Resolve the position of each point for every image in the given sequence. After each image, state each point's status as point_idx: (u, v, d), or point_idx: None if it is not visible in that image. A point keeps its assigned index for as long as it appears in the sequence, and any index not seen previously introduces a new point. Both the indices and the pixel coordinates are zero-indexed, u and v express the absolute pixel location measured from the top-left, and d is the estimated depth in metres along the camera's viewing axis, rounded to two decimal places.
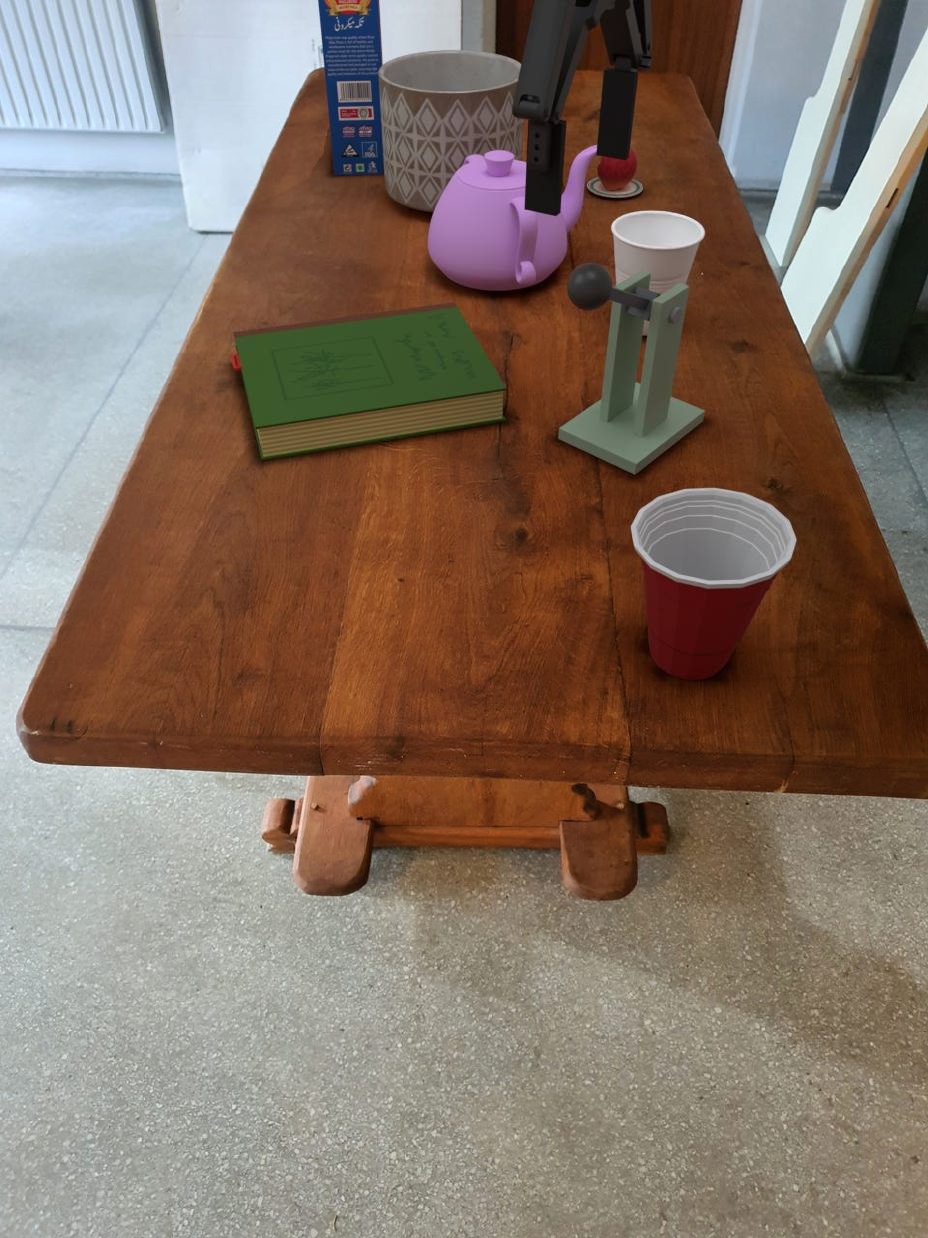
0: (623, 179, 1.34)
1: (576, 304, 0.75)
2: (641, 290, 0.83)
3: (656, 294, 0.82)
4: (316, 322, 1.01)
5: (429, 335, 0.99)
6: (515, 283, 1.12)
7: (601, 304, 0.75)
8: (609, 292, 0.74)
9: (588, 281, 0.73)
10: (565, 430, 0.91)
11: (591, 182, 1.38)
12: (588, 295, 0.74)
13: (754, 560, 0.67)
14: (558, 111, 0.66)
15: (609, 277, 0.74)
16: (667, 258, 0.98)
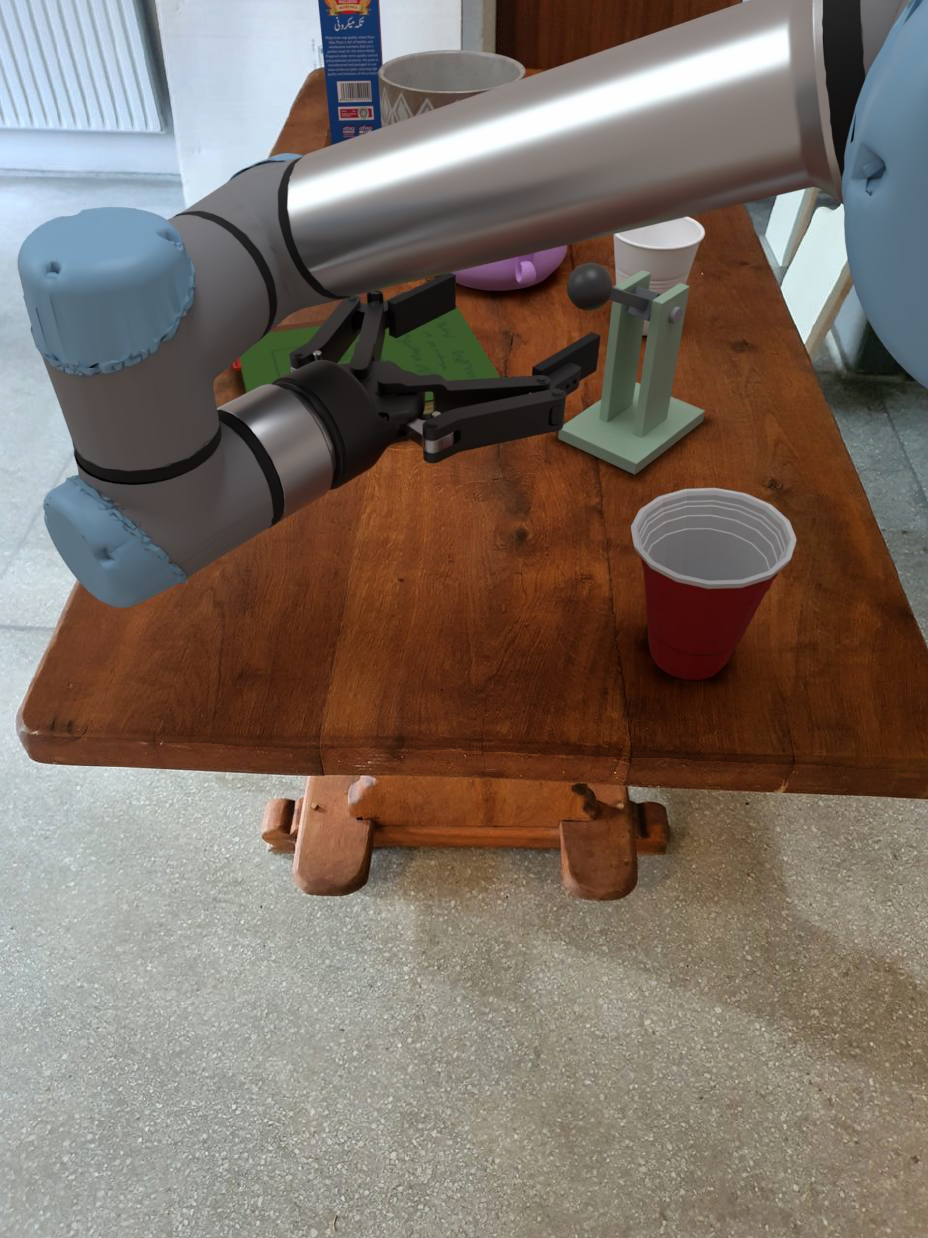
0: None
1: (576, 304, 0.75)
2: (641, 290, 0.83)
3: (656, 294, 0.82)
4: (316, 322, 1.01)
5: (429, 335, 0.99)
6: (515, 283, 1.12)
7: (601, 304, 0.75)
8: (609, 292, 0.74)
9: (588, 281, 0.73)
10: (565, 430, 0.91)
11: None
12: (588, 295, 0.74)
13: (754, 560, 0.67)
14: (539, 380, 0.61)
15: (609, 277, 0.74)
16: (667, 258, 0.98)
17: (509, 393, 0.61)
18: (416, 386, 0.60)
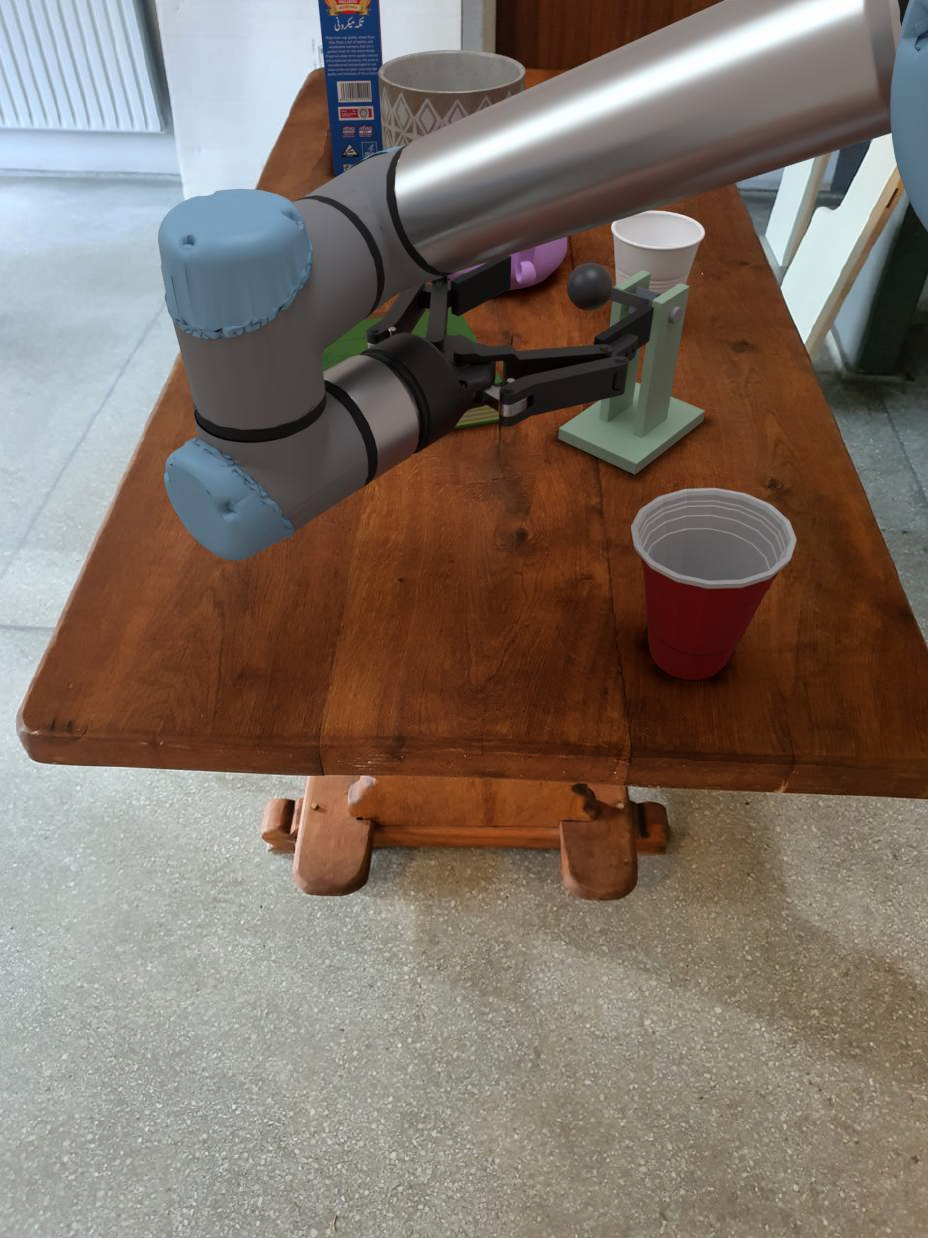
0: None
1: (576, 304, 0.75)
2: (641, 290, 0.83)
3: (656, 294, 0.82)
4: None
5: None
6: (515, 283, 1.12)
7: (601, 304, 0.75)
8: (609, 292, 0.74)
9: (588, 281, 0.73)
10: (565, 430, 0.91)
11: None
12: (588, 295, 0.74)
13: (754, 560, 0.67)
14: (602, 348, 0.66)
15: (609, 277, 0.74)
16: (667, 258, 0.98)
17: (575, 361, 0.66)
18: (490, 356, 0.64)
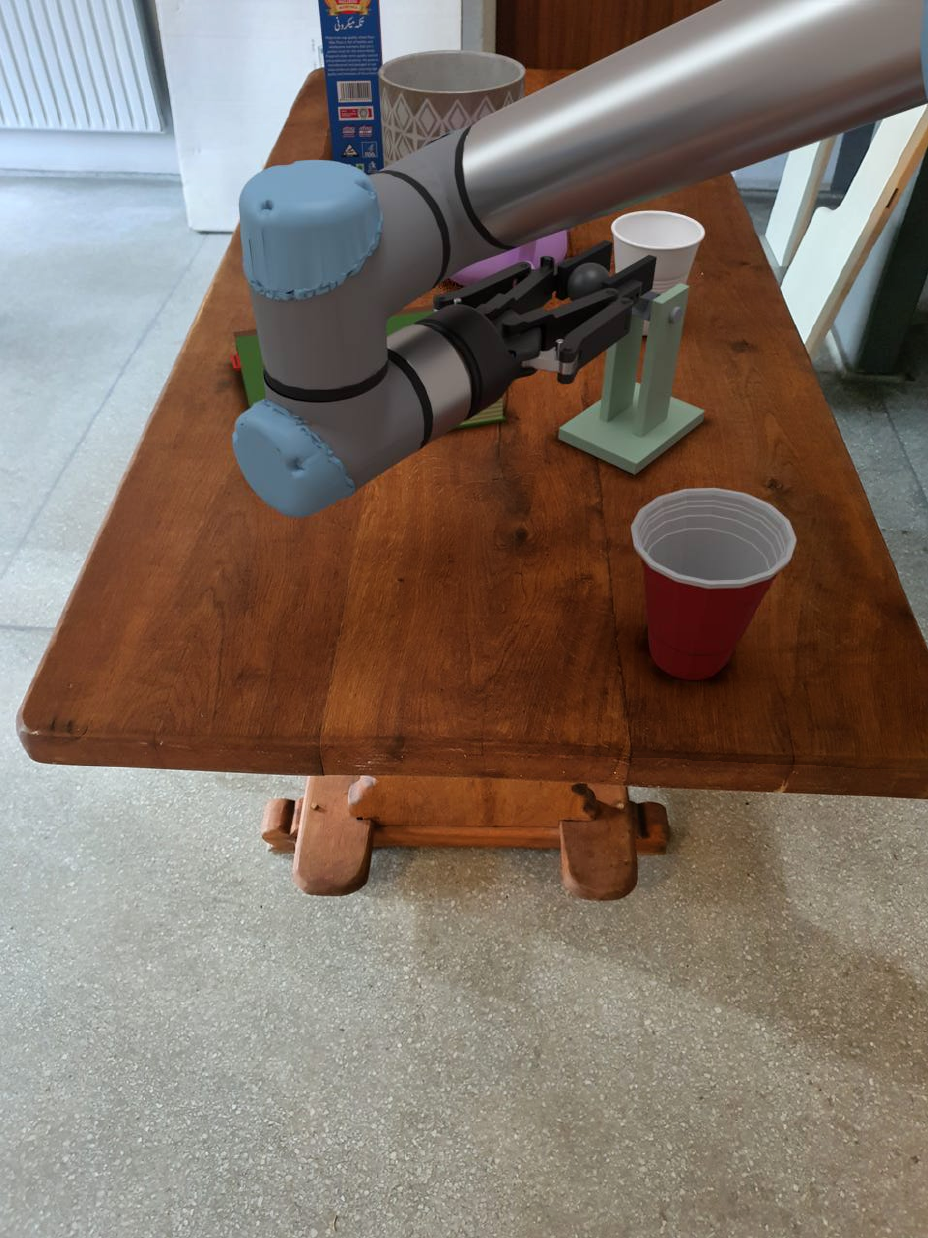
0: None
1: None
2: None
3: (656, 294, 0.82)
4: None
5: None
6: (515, 283, 1.12)
7: None
8: None
9: (588, 281, 0.73)
10: (565, 430, 0.91)
11: None
12: None
13: (754, 560, 0.67)
14: (611, 291, 0.72)
15: None
16: (667, 258, 0.98)
17: (594, 308, 0.71)
18: (535, 320, 0.68)
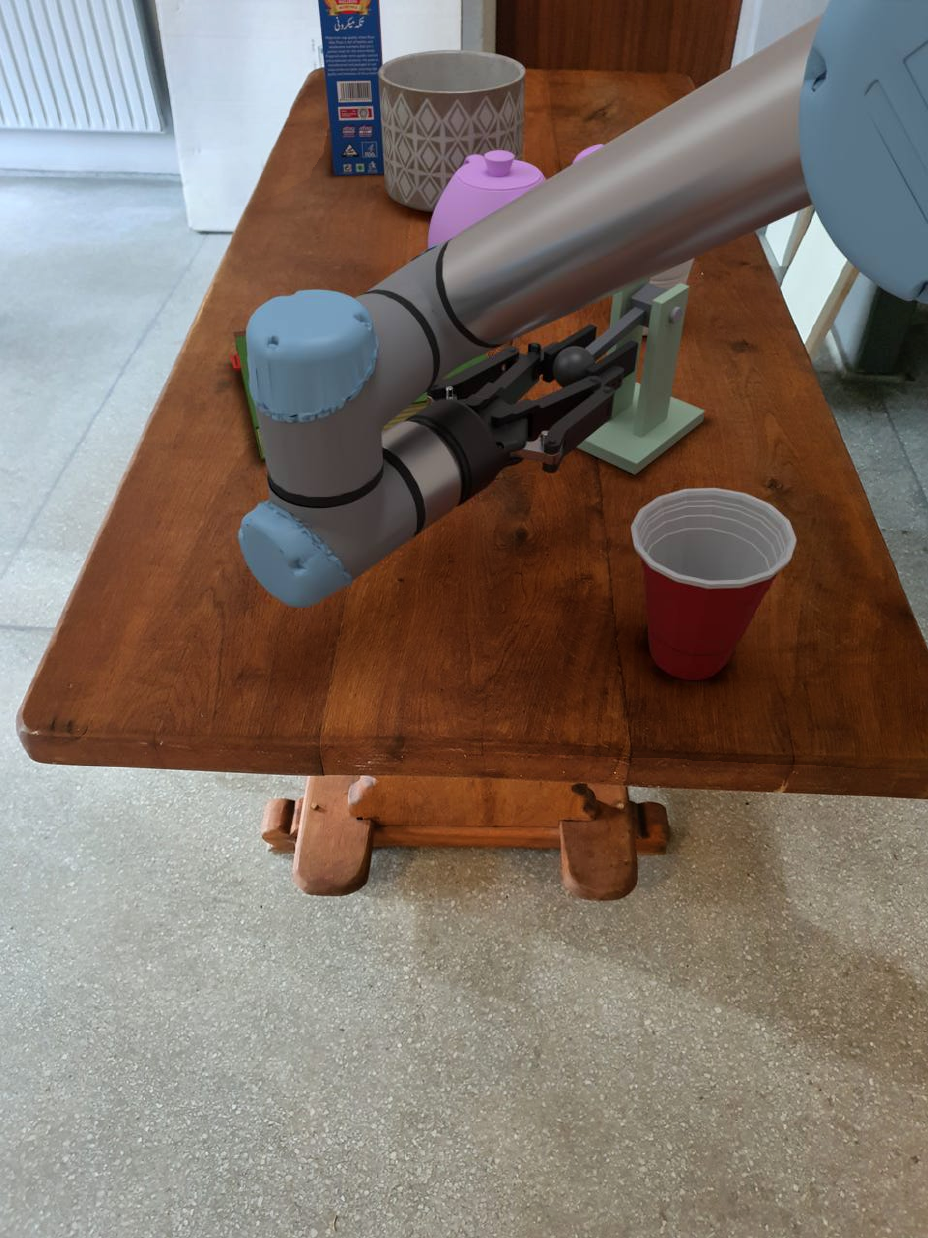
0: None
1: None
2: (635, 301, 0.83)
3: (650, 305, 0.82)
4: None
5: None
6: None
7: None
8: None
9: (568, 377, 0.78)
10: None
11: None
12: None
13: (754, 560, 0.67)
14: (594, 380, 0.76)
15: (587, 362, 0.78)
16: None
17: (578, 396, 0.75)
18: (522, 412, 0.72)
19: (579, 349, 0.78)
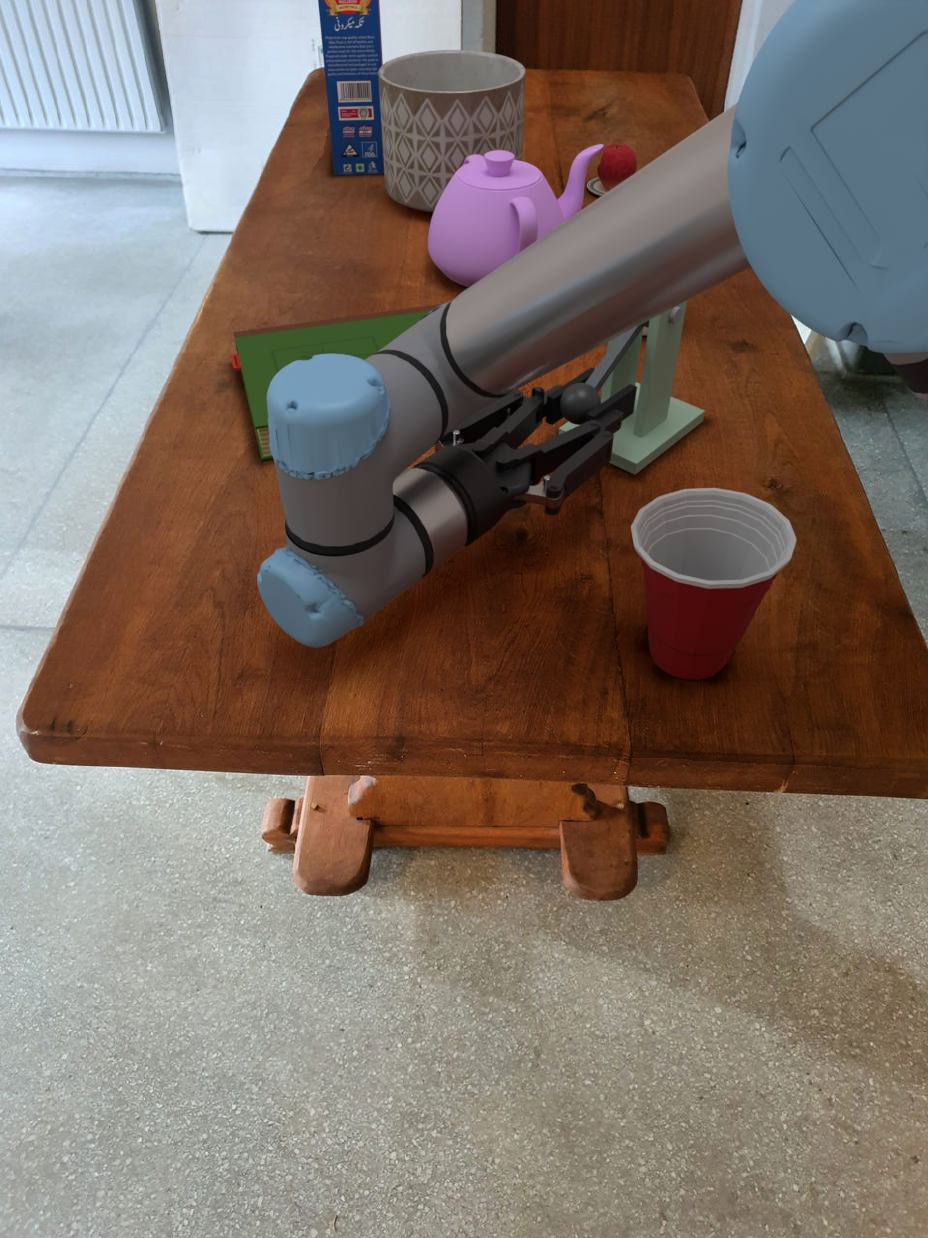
0: (623, 179, 1.34)
1: None
2: None
3: None
4: (316, 322, 1.01)
5: None
6: None
7: None
8: None
9: (575, 419, 0.82)
10: (565, 430, 0.91)
11: (591, 182, 1.38)
12: None
13: (754, 560, 0.67)
14: (594, 424, 0.80)
15: (590, 401, 0.81)
16: None
17: (579, 440, 0.79)
18: (525, 457, 0.76)
19: (580, 390, 0.81)
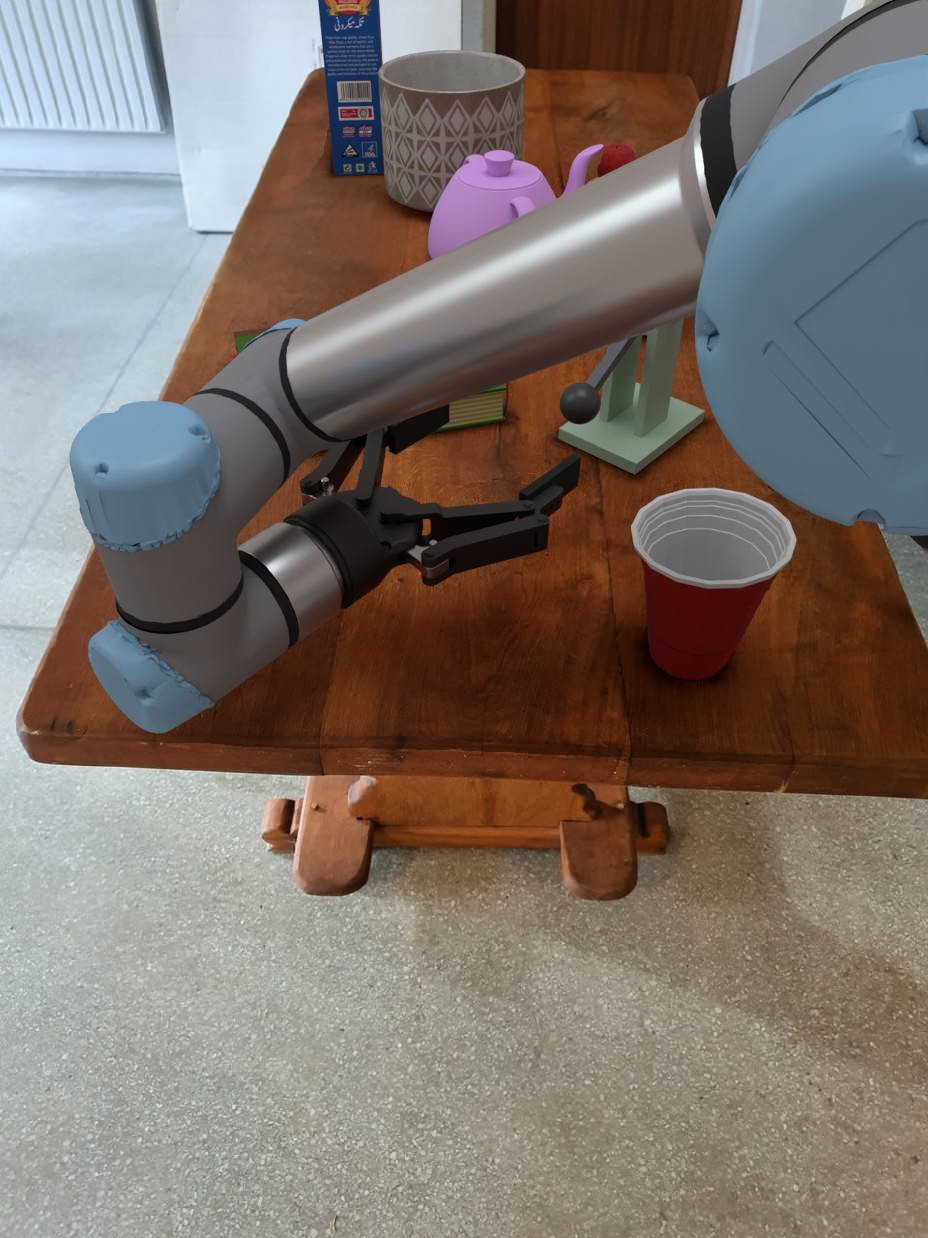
0: None
1: None
2: None
3: None
4: None
5: None
6: None
7: (596, 415, 0.83)
8: (597, 408, 0.82)
9: (575, 418, 0.82)
10: (565, 430, 0.91)
11: None
12: (581, 423, 0.83)
13: (754, 560, 0.67)
14: (525, 506, 0.68)
15: (590, 401, 0.81)
16: None
17: (498, 518, 0.68)
18: (415, 515, 0.66)
19: (580, 389, 0.81)
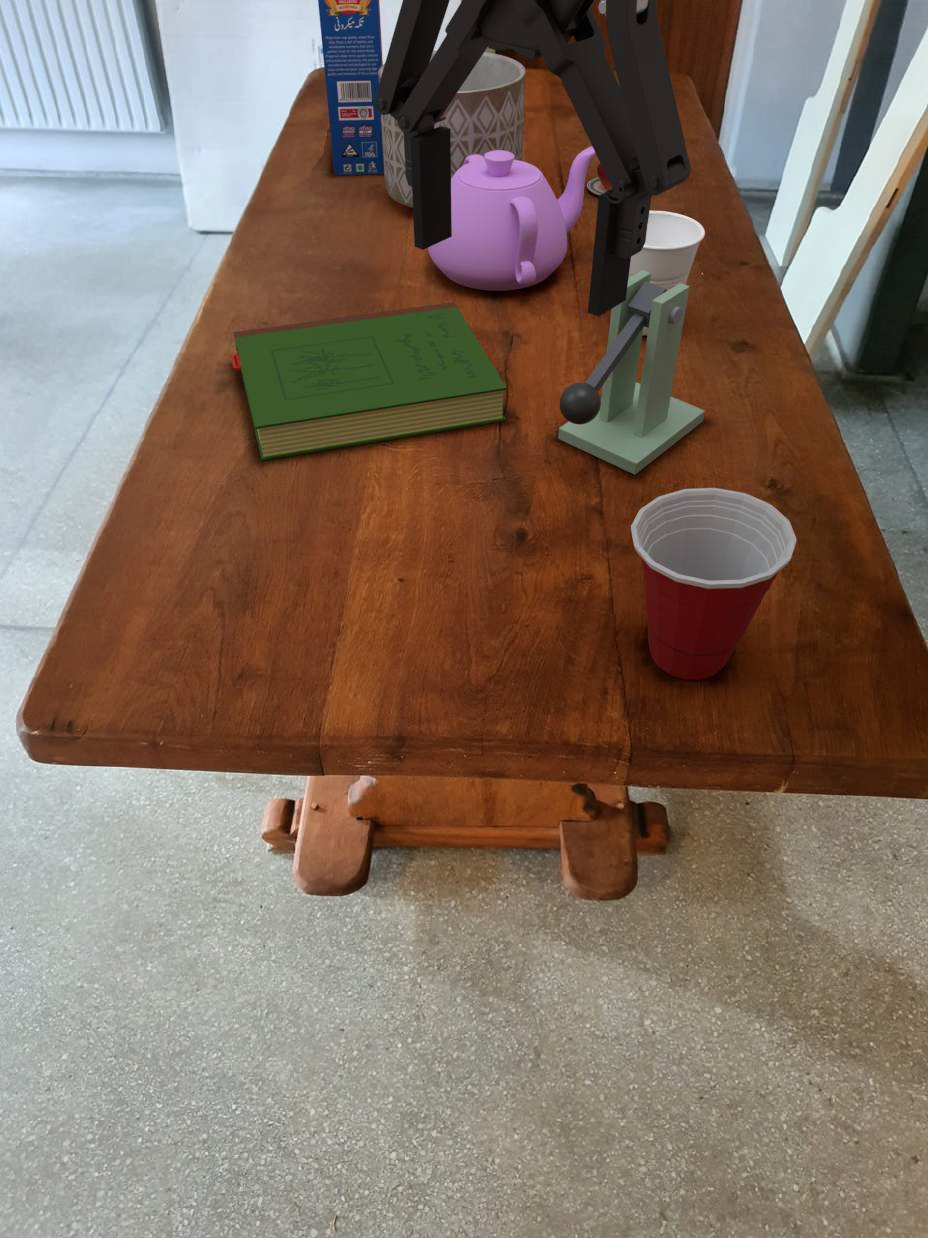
0: None
1: None
2: (633, 309, 0.83)
3: (647, 313, 0.82)
4: (316, 322, 1.01)
5: (429, 335, 0.99)
6: (515, 283, 1.12)
7: (596, 415, 0.83)
8: (597, 408, 0.82)
9: (575, 418, 0.82)
10: (565, 430, 0.91)
11: (591, 182, 1.38)
12: (581, 423, 0.83)
13: (754, 560, 0.67)
14: (402, 117, 0.55)
15: (590, 401, 0.81)
16: (667, 258, 0.98)
17: None
18: (460, 4, 0.48)
19: (580, 389, 0.81)
